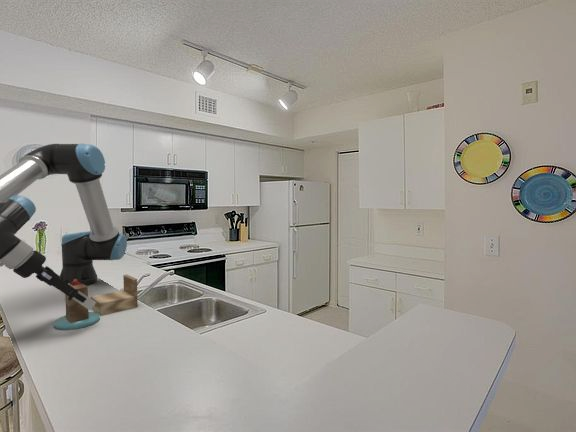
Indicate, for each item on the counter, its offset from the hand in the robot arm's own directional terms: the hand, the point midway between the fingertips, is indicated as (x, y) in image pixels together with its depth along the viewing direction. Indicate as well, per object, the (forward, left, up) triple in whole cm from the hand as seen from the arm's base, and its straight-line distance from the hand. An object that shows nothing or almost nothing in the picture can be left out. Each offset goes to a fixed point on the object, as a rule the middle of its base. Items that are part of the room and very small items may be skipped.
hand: (87, 301), depth 105 cm
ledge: (-11, +4, -6) cm, 13 cm away
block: (+2, -2, -5) cm, 6 cm away
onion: (-23, -13, -6) cm, 28 cm away
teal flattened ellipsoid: (+2, -2, -6) cm, 7 cm away
